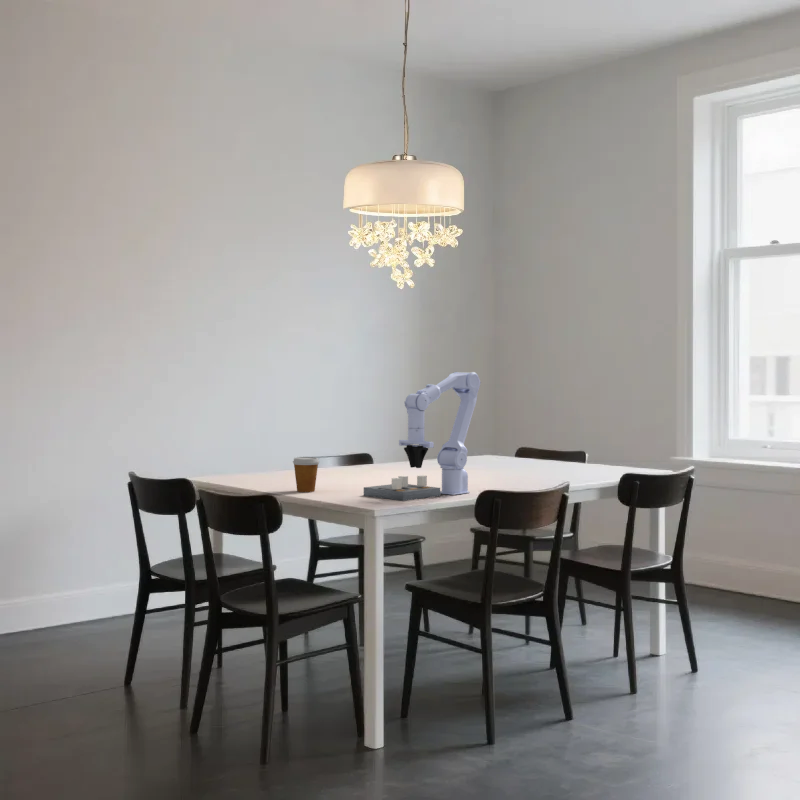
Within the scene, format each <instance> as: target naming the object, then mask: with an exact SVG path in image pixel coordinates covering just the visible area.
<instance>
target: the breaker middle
mask: <svg viewBox="0 0 800 800" xmlns="http://www.w3.org/2000/svg"><path fill="white" fill-rule="evenodd" d="M397 478H402V482H401V487H407V486H408V484H409V476H408V475H399V476H398V477H397Z"/></svg>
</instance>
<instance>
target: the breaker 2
mask: <svg viewBox="0 0 800 800" xmlns="http://www.w3.org/2000/svg"><path fill="white" fill-rule="evenodd" d="M427 477H428V476H427V475H424V474H422V475H421V474H419V475H417V476H416V485H417V486H428V484H427V483H428V479H427Z"/></svg>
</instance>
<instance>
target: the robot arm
mask: <svg viewBox="0 0 800 800" xmlns="http://www.w3.org/2000/svg"><path fill="white" fill-rule="evenodd" d="M481 383H482V382H481V380H480V376H479V375H478V373H476V372H475V371H471V372H463V371H461V372H460V371H459V372H458V371H455V372H453V373H449V375H448V376H447V377H446V378H444V379H442V380H441V381H440V382H438V383H437V384H433V383H428V384H426V385H425V387H424V388H422V389H418V390H416V392H415V393H410V394H408V395H407V397H406V398H405V401H404V406H405V408H406V414H407V439H399V440H398V446H399V447H400V446H405V447H403V450H404V452H405V454H406V456H407V459H408V462H409V466H410V468H416V469H421V468H422V466H423V462H424V460H425V457H426V455H427V453H428V451H429V449H433V448H434V445H435V444H434V441H427V440H425V430H426V429H425V426H426V425H425V424H426V423H425V421H426V420H425V417H426V416H425V415H426V413H425V412H426V410H427V409H428V408H429V405H430V404H432V403H434V402H435V401H437V400H439V399H440V397H441V394H443V393H445V392H447V391H449V390H450V389H452V390H453V391H454V393H455V394H456V396H458V397H459V399H460V402H459V406H458V409H457V413H456V416H455V418H454V419H455V420H454V422H453V427H452V429H451V433H450V436H449V439H448V441H446V442H445V443H443V444H442V446H441V449H440V450H439V452H438V454H437V456H436V457H437V458H436V461H437V464H438V465H439V466H440V467H439V468H440V469H441V490H440V495H441V494H443V495H450V496H454V495H463V494H470V491H469V489H468V488H469V486H468V485H469V484H468V483H469V475H468V472H467V470H466V469H464V468H465V466H466V465H467V461H468V453H469V452H468V449H467V447H466V446H465V441H466V438H467V435H468V431H469V427H470V425H471V421H472V417H473V414H474V410H475V408H476V405H477V400H478V393H479V389H480V387H481Z"/></svg>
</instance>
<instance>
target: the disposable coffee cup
mask: <svg viewBox="0 0 800 800" xmlns="http://www.w3.org/2000/svg"><path fill="white" fill-rule="evenodd" d="M292 463H293V467H294V474H295V476H294V477H295V483H296V491H297V492H299V493H314V492H315V491H316V482H317V476H318V465H319V463H320V461H319V458H318V457H313V456H312V457H310V456H298V457H294V458H293V461H292Z"/></svg>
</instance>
